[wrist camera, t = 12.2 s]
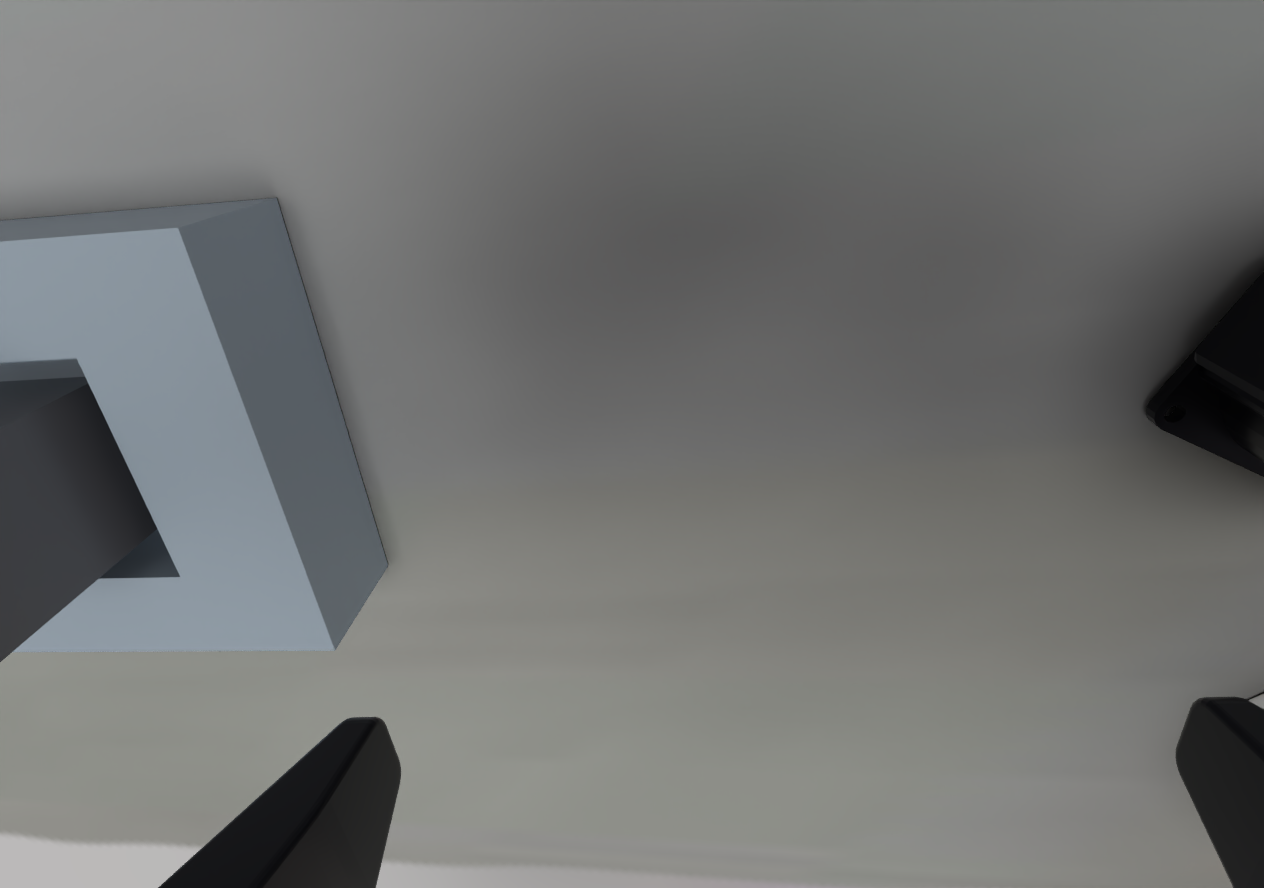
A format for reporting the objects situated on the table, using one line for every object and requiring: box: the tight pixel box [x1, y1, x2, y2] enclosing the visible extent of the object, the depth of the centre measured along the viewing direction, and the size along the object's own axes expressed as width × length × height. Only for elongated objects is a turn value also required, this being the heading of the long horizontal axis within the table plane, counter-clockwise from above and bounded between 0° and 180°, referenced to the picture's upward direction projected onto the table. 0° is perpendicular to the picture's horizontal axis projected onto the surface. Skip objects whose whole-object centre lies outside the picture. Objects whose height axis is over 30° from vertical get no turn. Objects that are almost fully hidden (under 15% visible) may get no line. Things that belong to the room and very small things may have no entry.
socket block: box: [0, 198, 388, 652], centre depth 20 cm, size 14×12×4 cm
